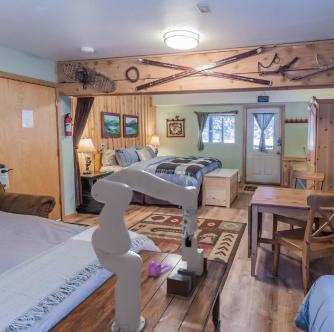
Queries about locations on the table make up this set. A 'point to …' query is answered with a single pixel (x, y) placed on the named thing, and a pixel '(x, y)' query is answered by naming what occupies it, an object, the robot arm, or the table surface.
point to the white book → (190, 250)
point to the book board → (184, 283)
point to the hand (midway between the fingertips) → (189, 245)
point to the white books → (197, 263)
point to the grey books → (186, 276)
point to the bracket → (157, 268)
